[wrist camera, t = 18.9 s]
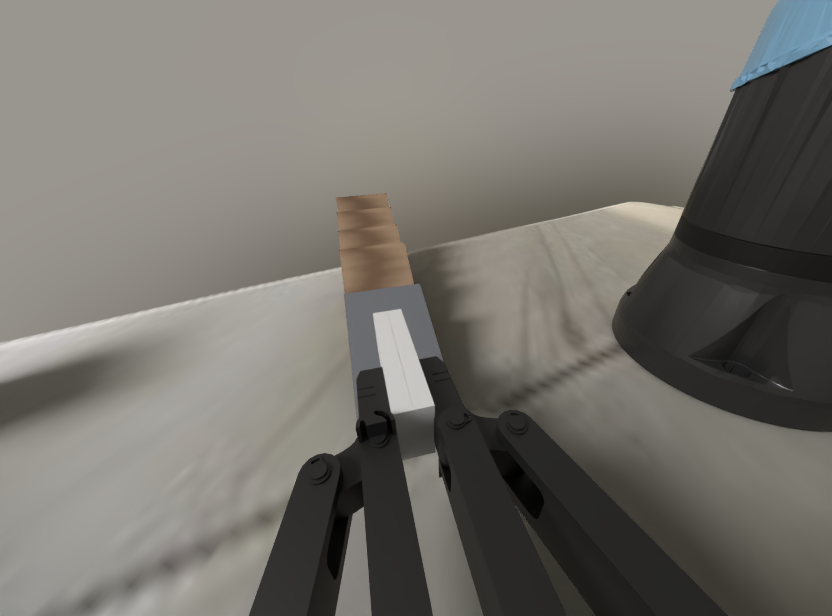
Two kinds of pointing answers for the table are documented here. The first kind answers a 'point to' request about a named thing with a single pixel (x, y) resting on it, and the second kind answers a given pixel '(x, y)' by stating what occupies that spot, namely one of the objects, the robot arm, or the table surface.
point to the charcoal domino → (363, 326)
